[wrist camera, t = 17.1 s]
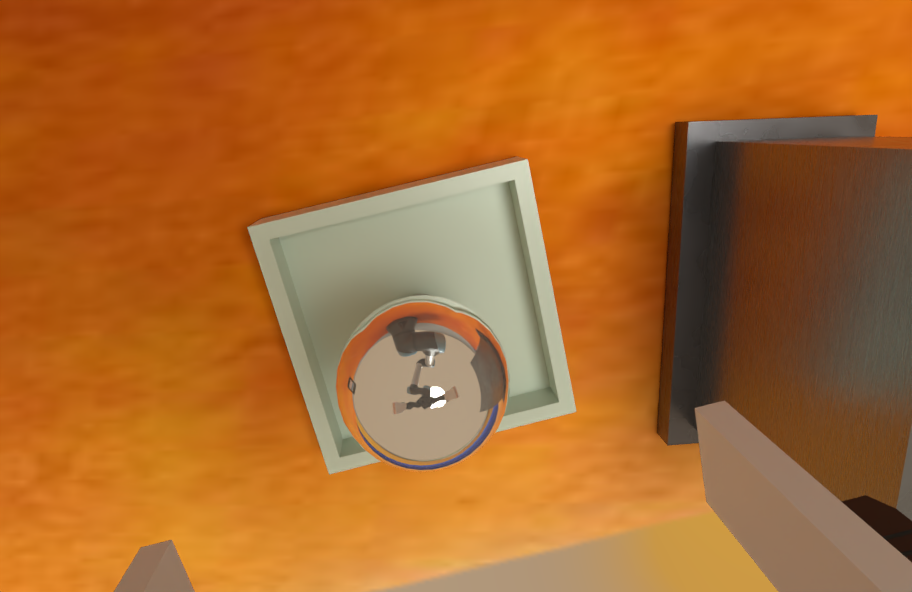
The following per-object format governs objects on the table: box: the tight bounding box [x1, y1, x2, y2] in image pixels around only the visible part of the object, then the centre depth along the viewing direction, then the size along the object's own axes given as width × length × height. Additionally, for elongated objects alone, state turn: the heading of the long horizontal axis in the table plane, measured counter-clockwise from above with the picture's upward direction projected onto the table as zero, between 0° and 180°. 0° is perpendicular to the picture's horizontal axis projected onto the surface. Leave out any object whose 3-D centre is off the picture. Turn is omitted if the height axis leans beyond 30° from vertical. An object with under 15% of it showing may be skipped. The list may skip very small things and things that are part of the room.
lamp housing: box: [657, 115, 912, 521], centre depth 27 cm, size 10×18×16 cm, turn 2°
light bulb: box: [335, 294, 510, 472], centre depth 27 cm, size 7×7×12 cm
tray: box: [247, 157, 576, 474], centre depth 32 cm, size 14×14×3 cm
